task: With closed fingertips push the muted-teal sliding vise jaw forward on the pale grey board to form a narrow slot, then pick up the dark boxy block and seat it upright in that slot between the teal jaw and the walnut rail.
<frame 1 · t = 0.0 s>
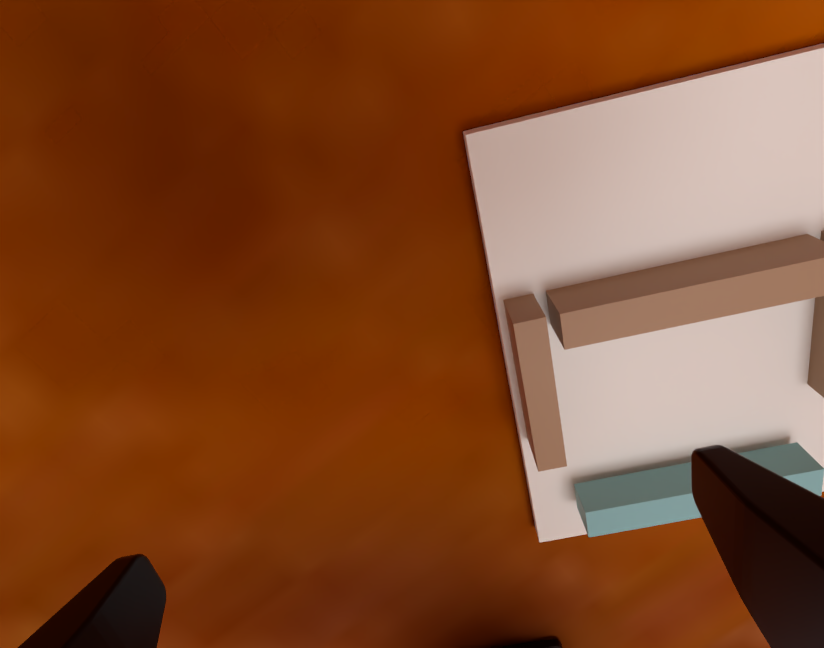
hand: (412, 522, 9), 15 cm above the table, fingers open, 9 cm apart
jaw: (693, 489, 25), point 2 cm above the table, slide at 0.0 cm
seat board: (666, 330, 24), on the table
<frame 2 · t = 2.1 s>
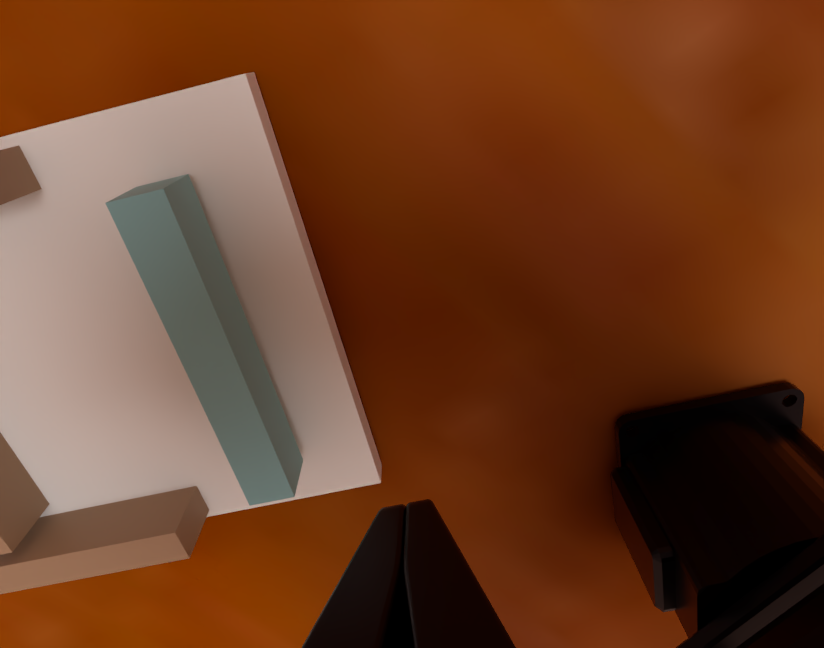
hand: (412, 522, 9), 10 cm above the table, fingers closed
jaw: (221, 353, 17), point 2 cm above the table, slide at 0.0 cm
seat board: (46, 363, 19), on the table
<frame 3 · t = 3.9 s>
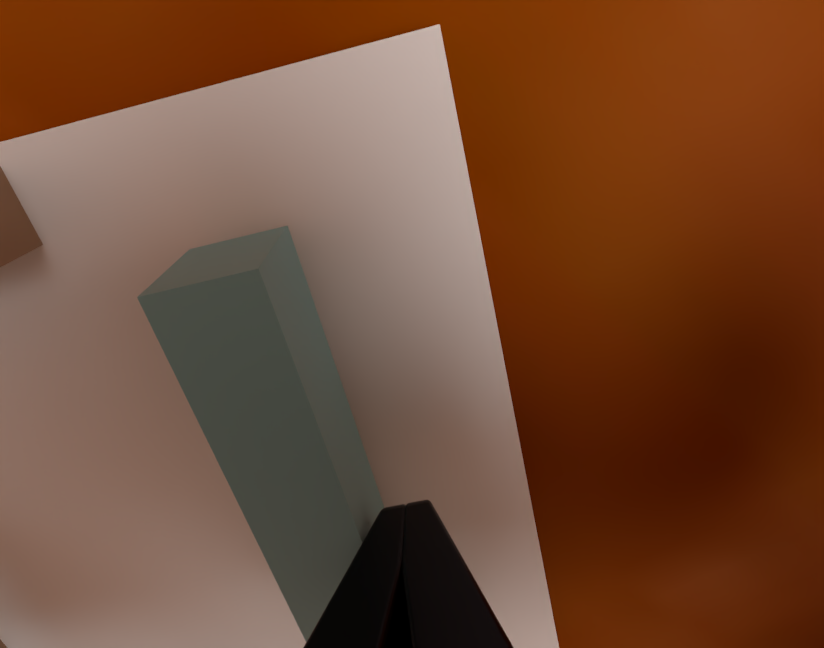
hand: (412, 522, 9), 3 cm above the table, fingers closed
jaw: (332, 533, 9), point 2 cm above the table, slide at 0.5 cm, touching gripper
seat board: (51, 506, 12), on the table
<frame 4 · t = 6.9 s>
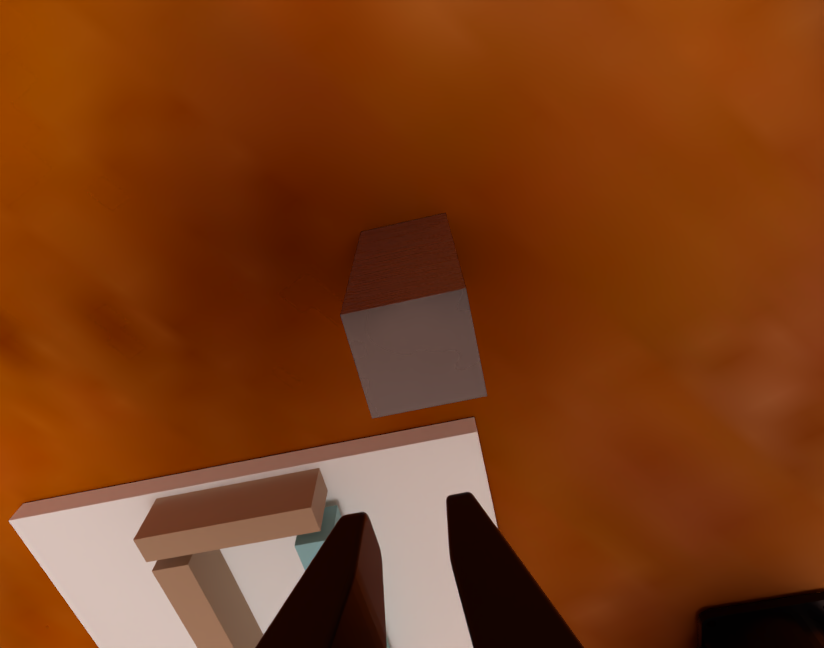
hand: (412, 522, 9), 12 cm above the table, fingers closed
jaw: (350, 609, 24), point 2 cm above the table, slide at 3.9 cm
dark boxy block: (412, 262, 20), on the table
seat board: (292, 576, 27), on the table
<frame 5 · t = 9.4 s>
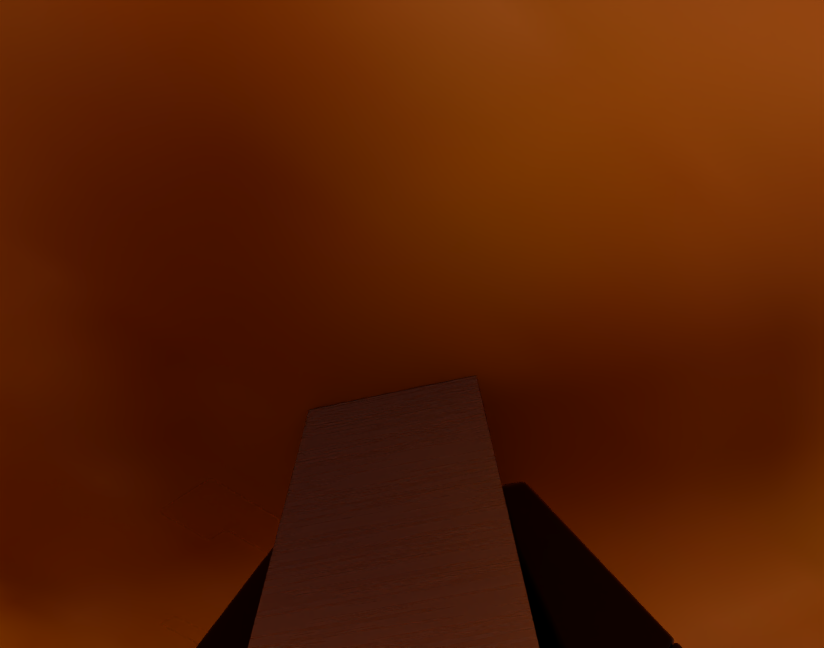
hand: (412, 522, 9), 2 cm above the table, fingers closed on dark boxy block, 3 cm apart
dark boxy block: (410, 459, 10), on the table, touching gripper
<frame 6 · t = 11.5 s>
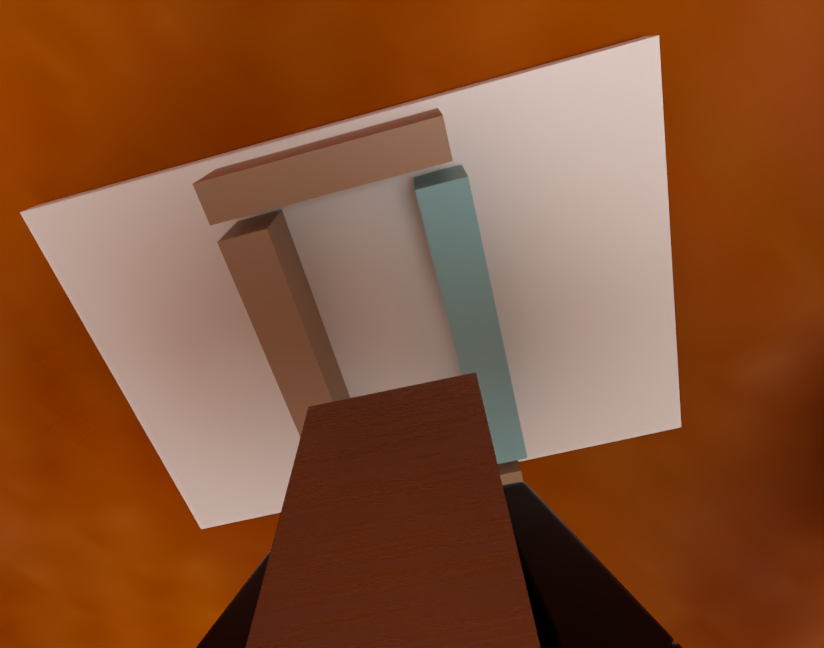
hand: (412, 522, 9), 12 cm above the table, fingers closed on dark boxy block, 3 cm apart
jaw: (474, 327, 18), point 2 cm above the table, slide at 3.9 cm
dark boxy block: (410, 456, 10), point 10 cm above the table, touching gripper
seat board: (385, 318, 21), on the table
when the fingers open (4 cm above the table, at t = 13.4 s): dark boxy block drops 1 cm, resting on seat board.
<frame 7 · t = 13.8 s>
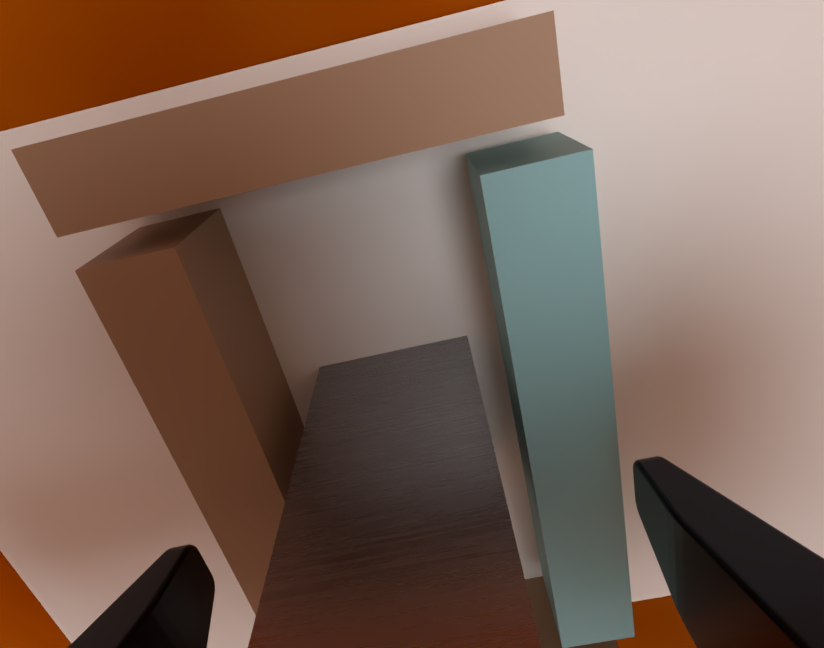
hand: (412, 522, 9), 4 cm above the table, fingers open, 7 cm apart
jaw: (560, 424, 10), point 2 cm above the table, slide at 3.9 cm
dark boxy block: (409, 412, 12), point 1 cm above the table, touching seat board
seat board: (399, 390, 13), on the table
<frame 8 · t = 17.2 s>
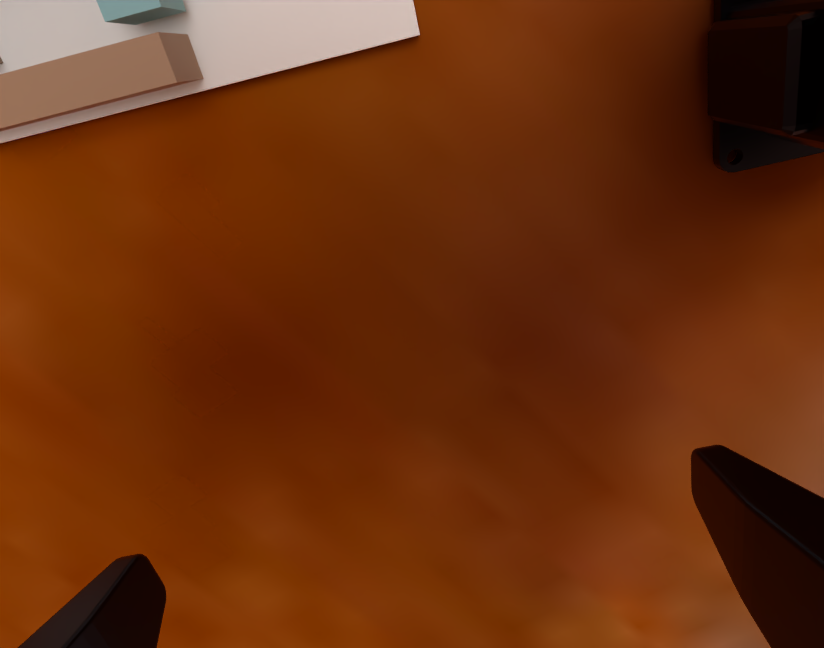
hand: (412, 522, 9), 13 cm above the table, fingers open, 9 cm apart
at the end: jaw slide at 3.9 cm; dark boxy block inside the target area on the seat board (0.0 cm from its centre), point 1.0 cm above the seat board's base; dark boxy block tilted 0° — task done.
